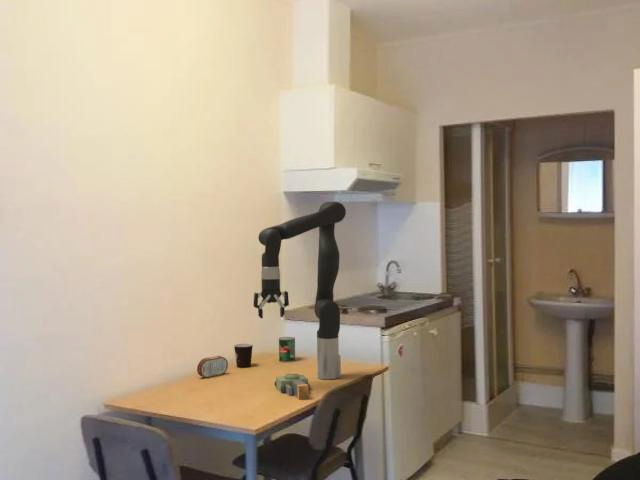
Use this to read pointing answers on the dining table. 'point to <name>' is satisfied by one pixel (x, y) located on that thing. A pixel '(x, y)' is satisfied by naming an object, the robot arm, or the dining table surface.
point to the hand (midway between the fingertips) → (271, 317)
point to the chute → (300, 389)
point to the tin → (212, 366)
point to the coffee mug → (243, 355)
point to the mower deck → (289, 382)
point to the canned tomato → (286, 349)
